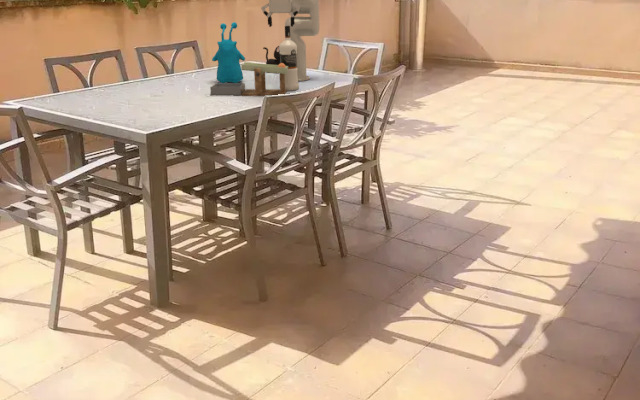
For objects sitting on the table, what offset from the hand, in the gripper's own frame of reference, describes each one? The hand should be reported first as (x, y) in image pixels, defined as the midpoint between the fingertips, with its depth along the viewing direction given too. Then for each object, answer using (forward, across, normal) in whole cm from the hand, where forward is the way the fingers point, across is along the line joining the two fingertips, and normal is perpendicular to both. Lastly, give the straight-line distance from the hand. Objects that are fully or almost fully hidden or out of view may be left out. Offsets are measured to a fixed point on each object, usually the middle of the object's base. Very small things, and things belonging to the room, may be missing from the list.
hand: (281, 26), depth 306 cm
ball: (+19, +1, -6) cm, 20 cm away
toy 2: (+32, +15, -67) cm, 75 cm away
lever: (+22, +10, -11) cm, 27 cm away
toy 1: (+32, +34, -38) cm, 60 cm away
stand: (+31, +10, -6) cm, 33 cm away
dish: (+31, +27, -6) cm, 42 cm away
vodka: (+31, 0, -17) cm, 36 cm away
